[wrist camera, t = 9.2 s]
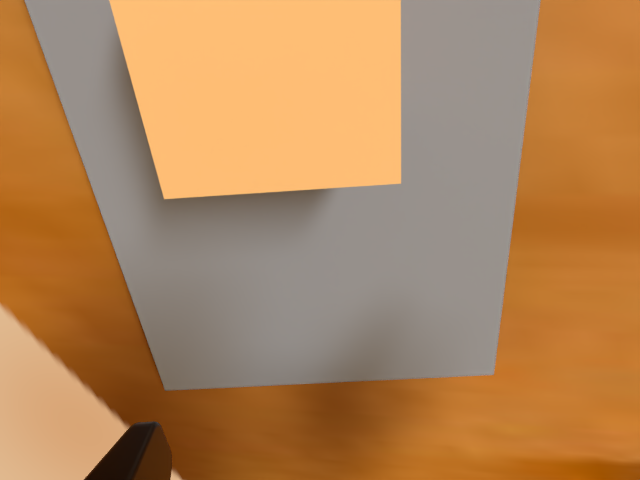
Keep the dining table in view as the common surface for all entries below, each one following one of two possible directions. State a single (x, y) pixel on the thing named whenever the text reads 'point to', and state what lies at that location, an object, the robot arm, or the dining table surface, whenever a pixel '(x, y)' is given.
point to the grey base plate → (318, 216)
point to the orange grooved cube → (266, 92)
